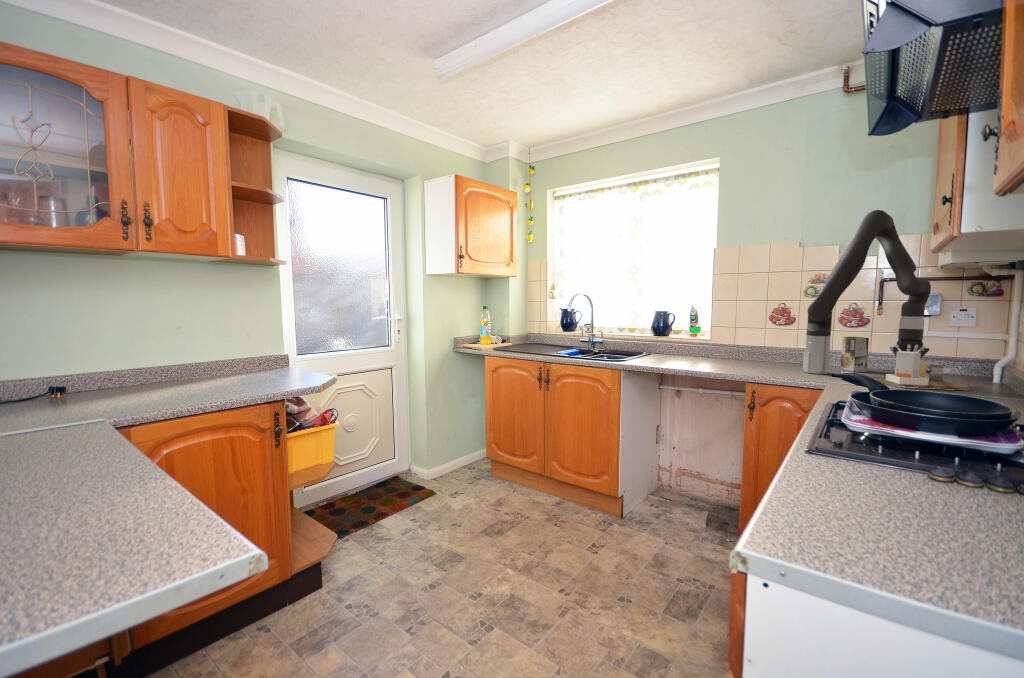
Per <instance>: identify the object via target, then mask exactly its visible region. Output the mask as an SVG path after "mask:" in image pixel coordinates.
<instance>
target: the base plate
mask: <svg viewBox="0 0 1024 678" xmlns="http://www.w3.org/2000/svg"><path fill="white" fill-rule="evenodd" d="M873 378H874V379H876V380H877V381H879V382H878V383H880V382H881V384H883V385H887V386H890V385H893V386H905V387H918V388H935V389H939V388H940V389H954V390H953V391H955V390H964V391H963V392H969V391H970V387H969V386H967V385H962V384H959V383H954V382H951V381H946V380H943V381H930V380H929V381H928V385H908V384H897V383H894V382H890V381H887V380H886V376H873ZM877 381H876V382H877ZM886 383H887V384H886ZM888 384H889V385H888ZM893 386H892V387H893ZM912 389H913V390H916V389H915V388H911V390H912Z"/></svg>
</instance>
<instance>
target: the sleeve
mask: <svg viewBox="0 0 1024 678" xmlns="http://www.w3.org/2000/svg"><path fill="white" fill-rule="evenodd" d="M885 377H886V380H887V381H890V382H894V383H897V384H908V385H928V381H929V379H928V378H924V377H920V376H919V378H903V377H898V376H895V373H894V374H893V373H886V374H885Z"/></svg>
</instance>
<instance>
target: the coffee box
mask: <svg viewBox="0 0 1024 678" xmlns="http://www.w3.org/2000/svg"><path fill="white" fill-rule="evenodd" d="M841 339H842V340H841V356H840V357H841V359H840V370H842V371H848V372H849V371H850V372H854V371H855V373H856V372H857V373H860V372H861V373H867V370H868V358H869V357H868V355H869V343H870V342H869V340H870V339H869V337H861V336H842V338H841Z"/></svg>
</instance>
